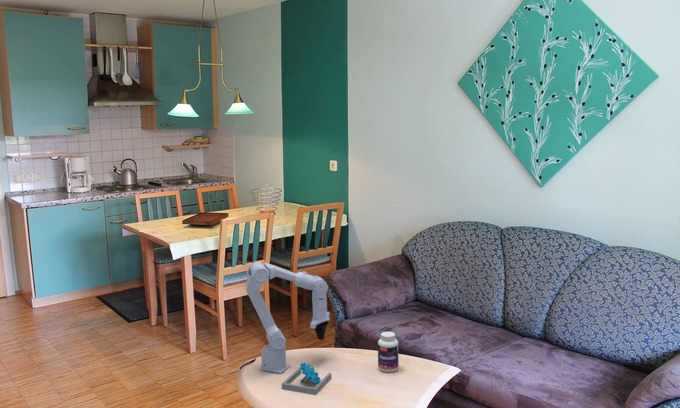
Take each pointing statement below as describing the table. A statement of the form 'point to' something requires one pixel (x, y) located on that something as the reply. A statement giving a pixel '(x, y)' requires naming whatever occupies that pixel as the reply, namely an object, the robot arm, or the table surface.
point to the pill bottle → (388, 352)
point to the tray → (304, 389)
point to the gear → (309, 373)
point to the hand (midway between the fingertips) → (320, 339)
